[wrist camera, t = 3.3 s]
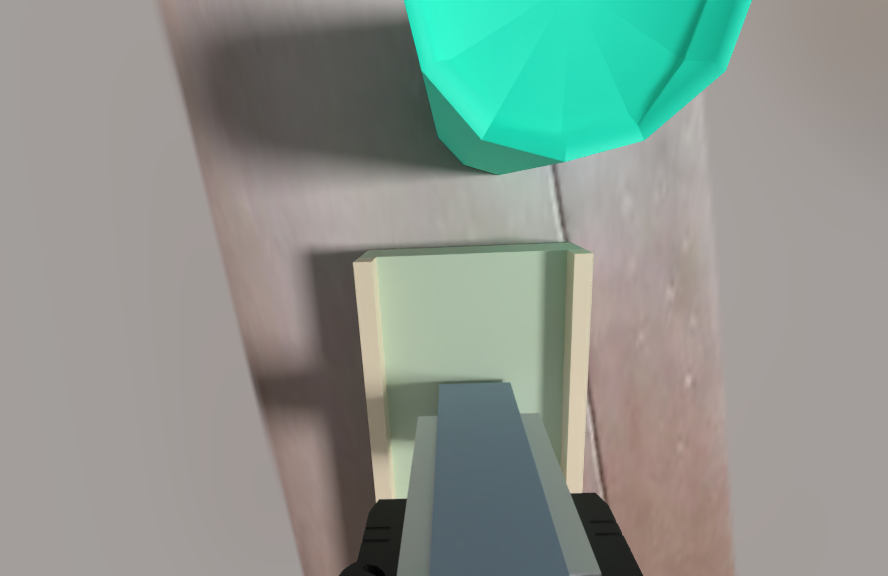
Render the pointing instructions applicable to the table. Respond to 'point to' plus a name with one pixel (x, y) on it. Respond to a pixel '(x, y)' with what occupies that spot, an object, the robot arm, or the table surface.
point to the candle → (564, 72)
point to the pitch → (473, 341)
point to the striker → (488, 490)
